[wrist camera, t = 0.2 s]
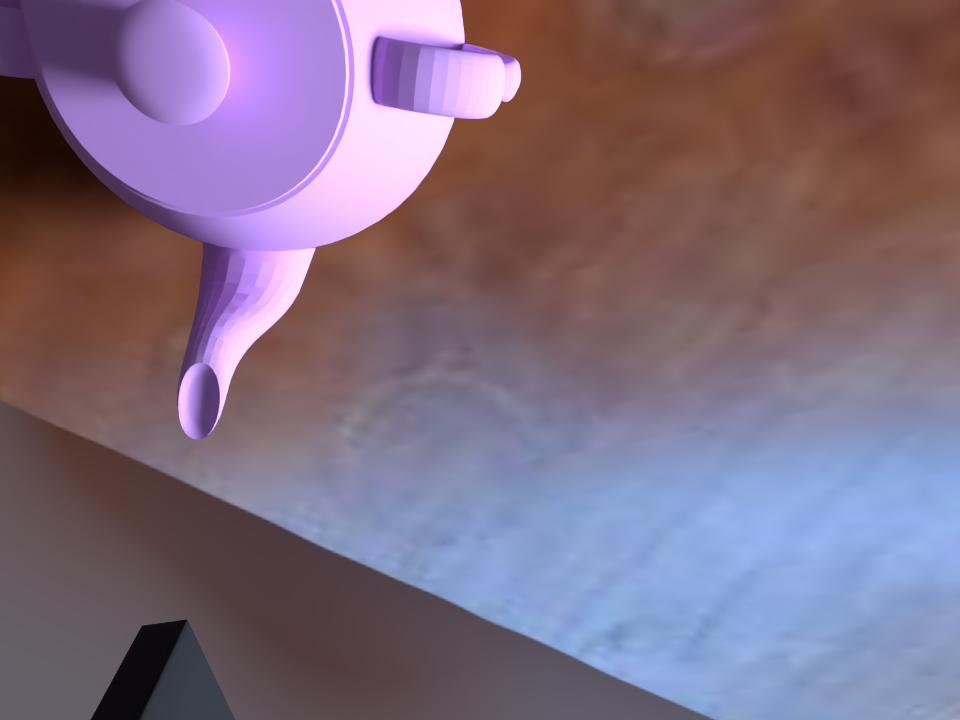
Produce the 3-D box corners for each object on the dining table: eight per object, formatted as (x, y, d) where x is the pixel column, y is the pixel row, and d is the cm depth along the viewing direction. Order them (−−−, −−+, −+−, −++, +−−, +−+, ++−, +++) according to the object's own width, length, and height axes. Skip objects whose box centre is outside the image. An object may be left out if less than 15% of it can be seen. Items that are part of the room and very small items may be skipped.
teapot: (83, 290, 38) (-106, 423, 26) (3, -211, 29) (-353, -379, 17) (489, 324, 39) (495, 467, 27) (539, -150, 30) (585, -265, 18)
